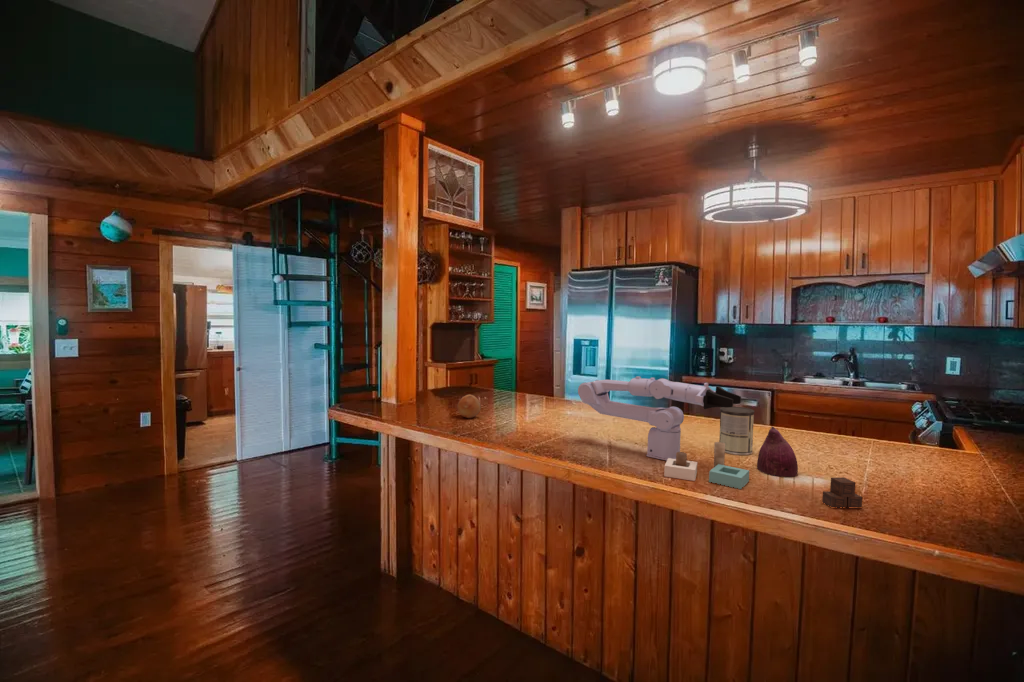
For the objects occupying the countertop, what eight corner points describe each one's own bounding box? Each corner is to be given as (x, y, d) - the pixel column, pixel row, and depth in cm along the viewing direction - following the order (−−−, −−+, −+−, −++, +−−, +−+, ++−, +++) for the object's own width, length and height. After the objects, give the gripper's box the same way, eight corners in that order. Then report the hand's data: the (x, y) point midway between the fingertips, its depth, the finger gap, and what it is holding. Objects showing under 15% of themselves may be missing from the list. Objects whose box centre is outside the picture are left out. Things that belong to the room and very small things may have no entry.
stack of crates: (843, 493, 121) (845, 467, 121) (892, 519, 106) (894, 489, 106) (786, 493, 121) (788, 467, 120) (828, 519, 106) (829, 489, 105)
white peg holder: (664, 476, 131) (664, 465, 130) (667, 468, 138) (668, 458, 138) (694, 481, 127) (695, 470, 127) (696, 472, 134) (697, 461, 134)
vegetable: (777, 489, 131) (773, 440, 127) (749, 472, 141) (745, 427, 137) (807, 477, 133) (805, 429, 130) (778, 461, 143) (775, 416, 139)
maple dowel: (712, 470, 136) (713, 443, 136) (715, 468, 138) (716, 441, 138) (722, 472, 134) (723, 445, 134) (725, 470, 137) (726, 443, 136)
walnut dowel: (674, 474, 132) (674, 453, 132) (677, 472, 134) (678, 451, 134) (683, 476, 131) (684, 455, 130) (687, 474, 133) (688, 453, 132)
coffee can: (714, 445, 162) (715, 405, 162) (745, 447, 161) (747, 406, 161) (724, 454, 152) (726, 411, 151) (757, 456, 151) (759, 412, 150)
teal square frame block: (708, 481, 127) (709, 471, 126) (718, 474, 133) (718, 464, 133) (740, 489, 121) (741, 478, 121) (748, 481, 128) (749, 470, 127)
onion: (455, 416, 204) (455, 393, 204) (477, 414, 207) (477, 392, 207) (459, 420, 195) (459, 397, 194) (482, 419, 198) (483, 396, 197)
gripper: (681, 382, 137) (730, 390, 128) (698, 378, 148) (745, 385, 139) (679, 406, 138) (727, 415, 129) (696, 400, 149) (742, 408, 140)
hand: (736, 401), depth 134 cm, fingers open, 7 cm apart
